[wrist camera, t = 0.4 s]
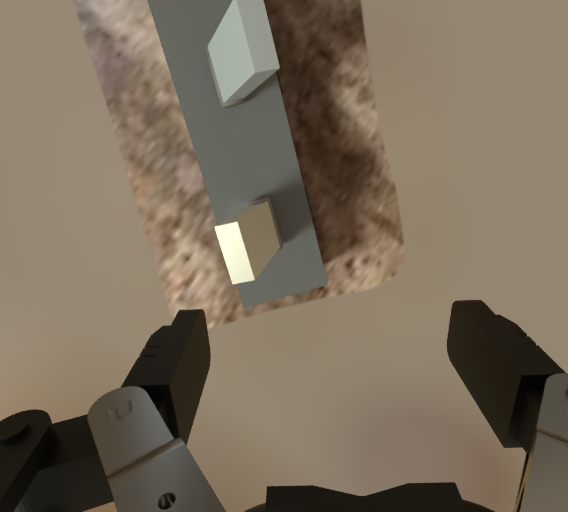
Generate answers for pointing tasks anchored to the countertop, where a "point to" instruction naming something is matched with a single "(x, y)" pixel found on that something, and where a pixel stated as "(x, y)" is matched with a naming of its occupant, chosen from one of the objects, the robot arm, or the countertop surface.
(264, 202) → the tall cream slab
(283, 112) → the grey holder base
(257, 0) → the grey-blue slab
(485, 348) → the robot arm
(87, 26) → the countertop surface
